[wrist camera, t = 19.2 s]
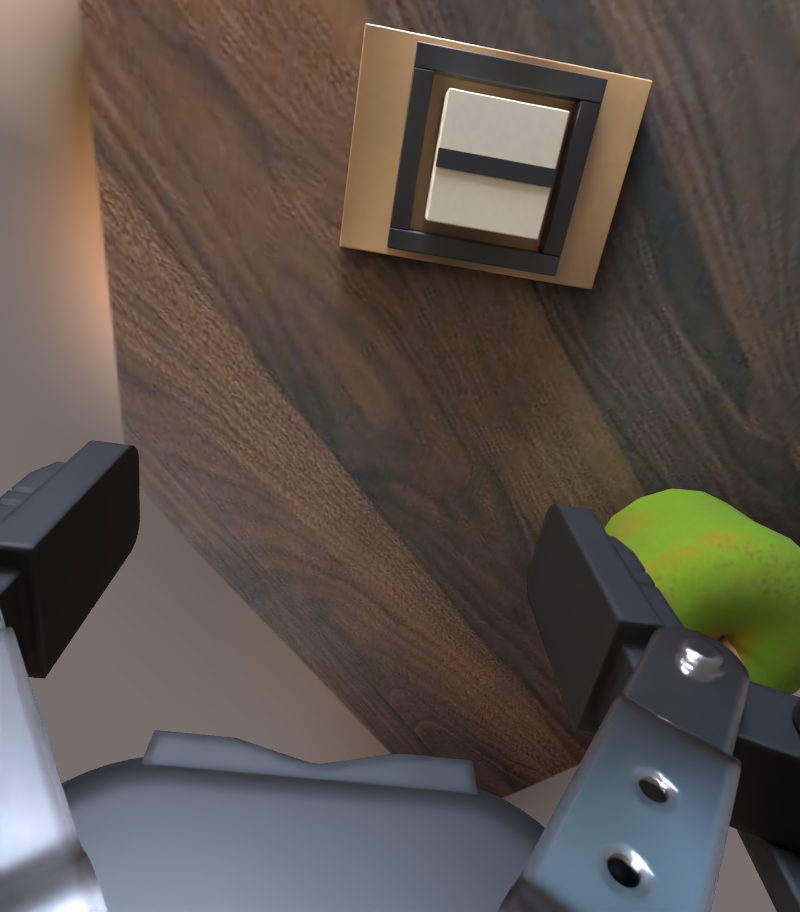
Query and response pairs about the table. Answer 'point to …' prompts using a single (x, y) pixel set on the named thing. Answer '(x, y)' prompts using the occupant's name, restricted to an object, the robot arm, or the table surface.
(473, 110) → the ivory pad
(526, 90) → the base pad
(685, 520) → the apple
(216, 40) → the table surface
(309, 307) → the table surface
